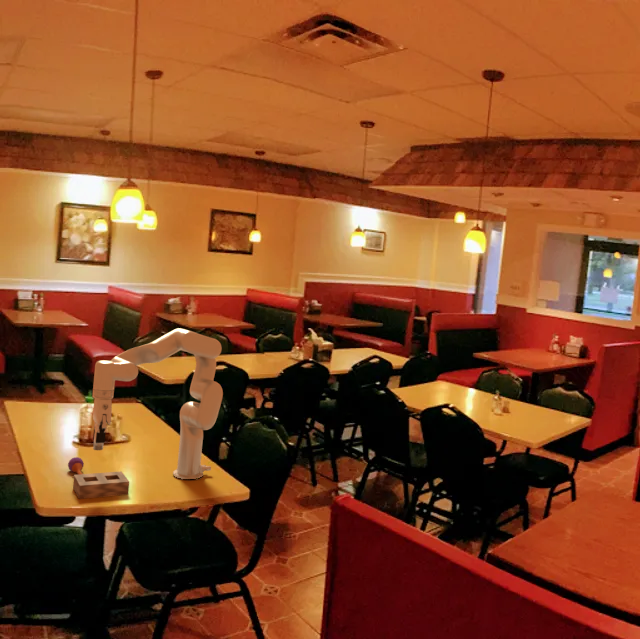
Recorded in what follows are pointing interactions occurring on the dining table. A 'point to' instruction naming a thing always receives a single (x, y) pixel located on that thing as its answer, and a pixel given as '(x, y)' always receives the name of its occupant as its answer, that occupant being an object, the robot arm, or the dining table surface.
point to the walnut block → (100, 484)
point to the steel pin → (96, 445)
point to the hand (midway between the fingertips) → (98, 440)
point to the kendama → (76, 465)
